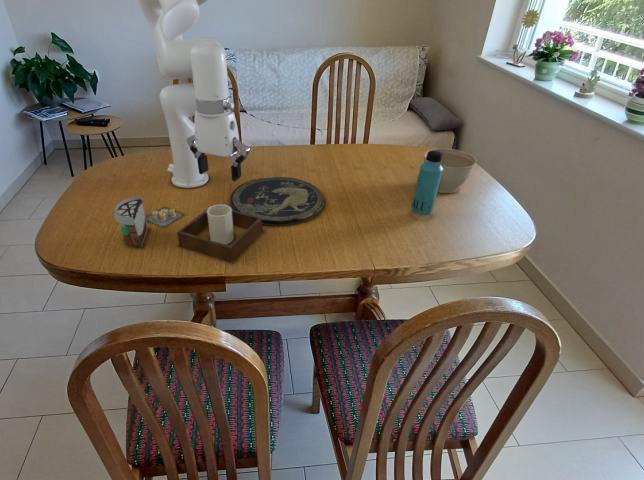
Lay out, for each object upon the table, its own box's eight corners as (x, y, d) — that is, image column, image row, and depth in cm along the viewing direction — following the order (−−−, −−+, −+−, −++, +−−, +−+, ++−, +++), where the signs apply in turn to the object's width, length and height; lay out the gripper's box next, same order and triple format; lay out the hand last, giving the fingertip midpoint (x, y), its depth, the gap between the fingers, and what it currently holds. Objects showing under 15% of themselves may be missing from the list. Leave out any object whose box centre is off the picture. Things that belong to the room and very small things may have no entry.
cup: (205, 241, 112) (201, 213, 107) (218, 230, 117) (215, 202, 112) (225, 247, 110) (222, 218, 105) (238, 235, 115) (236, 207, 109)
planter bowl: (443, 174, 148) (450, 145, 142) (477, 193, 136) (487, 162, 130) (408, 182, 142) (414, 152, 136) (440, 202, 131) (449, 171, 124)
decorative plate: (216, 214, 120) (244, 172, 144) (217, 220, 121) (244, 177, 145) (317, 226, 116) (329, 180, 139) (317, 232, 117) (328, 185, 140)
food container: (127, 227, 118) (118, 196, 112) (148, 226, 118) (141, 195, 112) (116, 251, 108) (107, 219, 102) (140, 250, 108) (132, 218, 103)
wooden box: (179, 246, 110) (176, 232, 108) (213, 217, 122) (212, 204, 120) (231, 262, 105) (230, 248, 102) (262, 231, 117) (262, 217, 114)
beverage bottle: (432, 211, 126) (448, 149, 114) (431, 222, 121) (447, 158, 109) (410, 208, 128) (424, 146, 116) (408, 218, 123) (422, 154, 111)
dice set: (176, 215, 123) (175, 209, 122) (164, 222, 120) (163, 217, 119) (164, 210, 126) (163, 205, 124) (152, 218, 122) (150, 212, 121)
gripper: (254, 106, 92) (257, 176, 102) (191, 97, 98) (200, 164, 108) (237, 114, 87) (242, 188, 97) (172, 105, 93) (182, 175, 103)
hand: (220, 175), depth 103 cm, fingers open, 9 cm apart
